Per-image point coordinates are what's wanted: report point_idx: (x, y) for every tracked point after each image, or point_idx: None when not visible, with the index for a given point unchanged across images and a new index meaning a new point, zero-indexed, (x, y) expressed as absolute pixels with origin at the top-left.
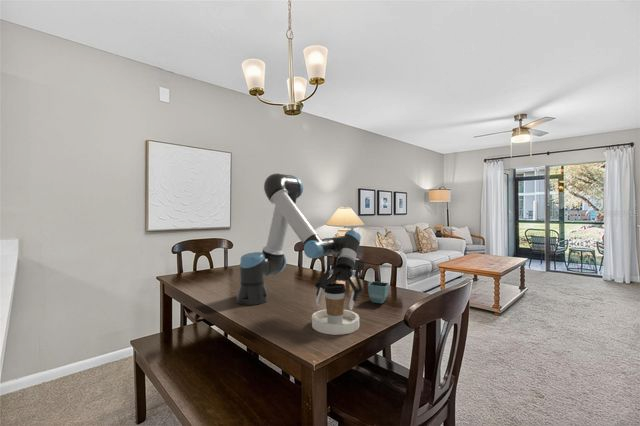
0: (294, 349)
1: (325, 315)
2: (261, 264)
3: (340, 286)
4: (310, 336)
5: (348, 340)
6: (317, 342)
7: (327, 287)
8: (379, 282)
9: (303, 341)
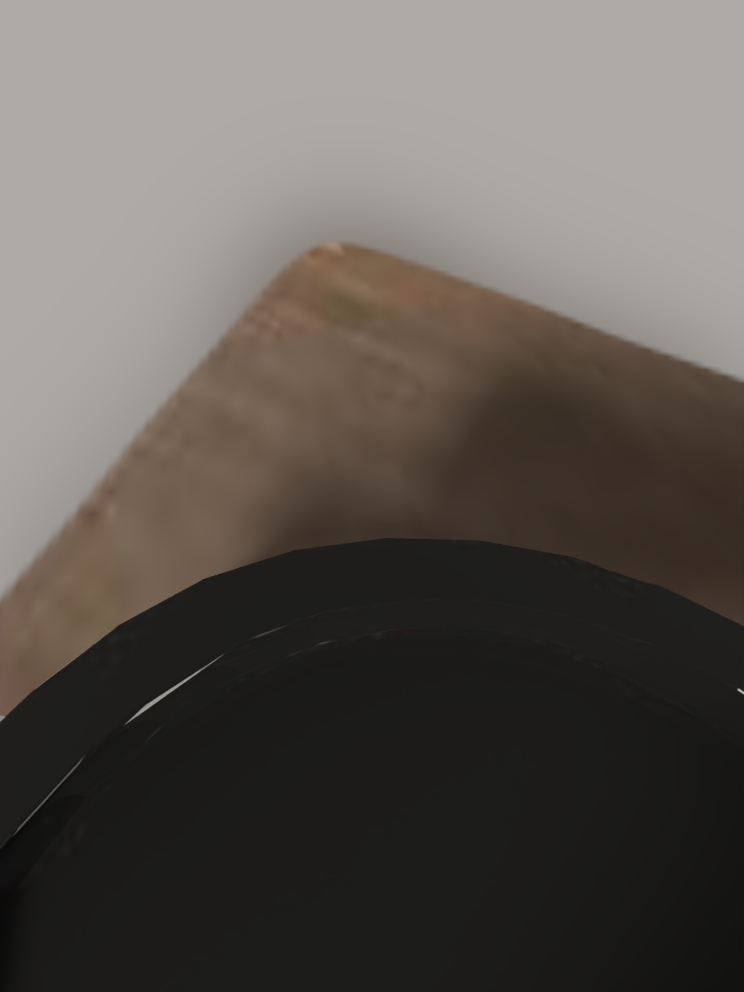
0: (505, 314)
1: None
2: None
3: (44, 710)
4: (508, 511)
5: (149, 530)
6: (402, 430)
7: (738, 630)
8: None
9: (513, 418)
